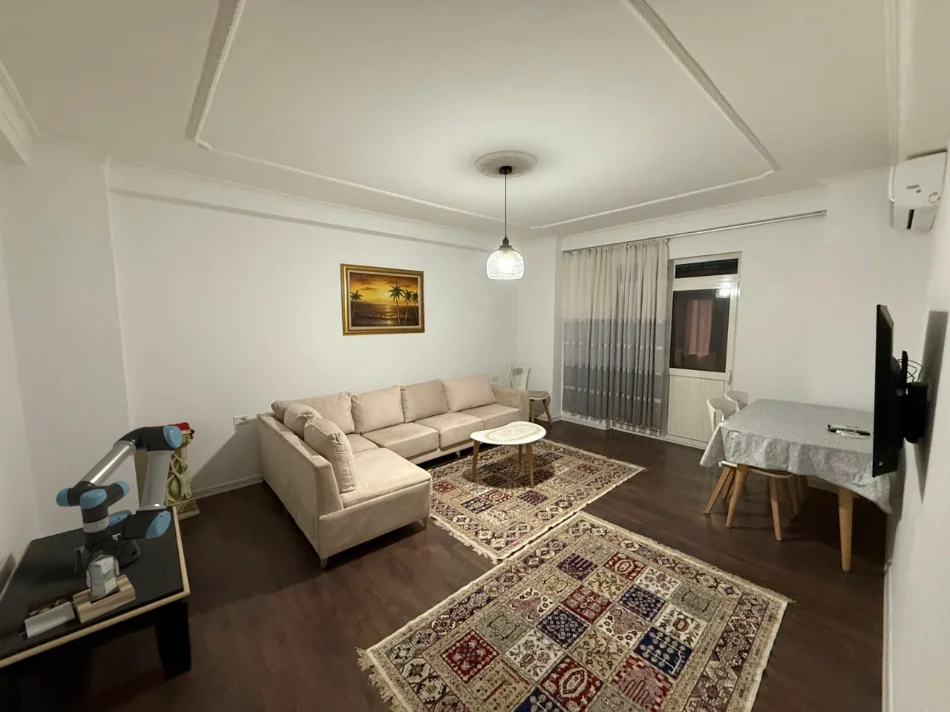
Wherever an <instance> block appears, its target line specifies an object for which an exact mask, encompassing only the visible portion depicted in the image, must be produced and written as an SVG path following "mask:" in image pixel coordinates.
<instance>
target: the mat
mask: <svg viewBox="0 0 950 712" xmlns="http://www.w3.org/2000/svg"><path fill="white" fill-rule="evenodd" d="M73 619H76V615H75V613H74V610H73V608H72V604H71V602H70V601H67V602H65V603H63V604H59V605H57V606H55V607H53V608H51V609H48V610H46V611H44V612H41V613H38V614H37V615H36V614H35V615H34V616H31V617H30V618H27V619H25V620H24V624H25V629H26V635H28V636H27V638H28V639H30V638H32V637H31V636H33V637H35V636H36V635H39V634H41V633H44V632H46V631H48V630H50V629H53V628H54V627H57V626H60V625H62V624H64V623H66V622H68V621H71V620H73ZM34 635H35V636H34ZM29 637H30V638H29Z"/></svg>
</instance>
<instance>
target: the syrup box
mask: <svg viewBox="0 0 950 712" xmlns="http://www.w3.org/2000/svg"><path fill="white" fill-rule="evenodd" d="M87 569H88V570H89V575H90V582H91V587H89V589H90V588H91V595H92V596H104V597H106V596H108V595H109V594H108V593H109V592H110V591H112V590H113V589H114V588H115V587H117V575H116V567H115V559H114V556H111V555H101V556H99V555H98V557H97V558H95V559H93V560H91V561H90V564H89V566H88V568H87ZM107 594H108V595H107ZM105 595H106V596H105Z"/></svg>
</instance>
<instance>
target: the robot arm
mask: <svg viewBox="0 0 950 712" xmlns="http://www.w3.org/2000/svg"><path fill="white" fill-rule="evenodd" d="M182 443H183V433H182V431H181V429H180V428H179V427H178V426H175V425H160V426H159V425H155V426H143V427H138V428H134V429H133V430H131V431H129V432H128V433H126V434H124V435H123V436H122V437H120V438H119V439H118V440H116V441H115V442H114V443H113V445H112V448H111V449H110V450H109V452H107V453H106V454H105V455H104V456H103V457H102V459H100V460H99V461H98V462H97V463H96V464H95V465H94V466H93V467H92V468H91V469H89V471H88V472H86V474H85V475H84V476H83V477H82V478H81V479H80V480H79V481H78V482H77V483H76V484H75V485H74V486H73V487H65V488H63V489H61V490H60V491H59V492H58V493H57V495H56V497H55V502H56V504H57V505H58V506H59V507H61V508H63V507H64V508H66V507H67V508H68V507H69V508H72V507H80V512H81V519H82V529H83V532H84V533H83V536H84V544H83V545H82V546H80V547H76V548H74V552H75V560H74V561H75V562H74V570H73V571H74V573H75V575H79V574H81V579H82V580H83V581H86V585H87V587H88V588H90V587H91V582H90V575H89V570H88V566H89V564H90V562H92V559H93V557H94V555H95V553H97V552H99V551H100V552H99V555H98V557H99V556H101V555H111V556H114V559H115V567H116V576H119V575H120V568H122V567H124V566H127V565H128V564H131V563H133V562H134V561H135V560H137V559H138V558H139V557H140V555H141V550H140V547H139V546H138V544H137V542H136V541H135V540H142V539H143V540H144V539H147V540H149V539H153V538H158V537H161V536H162V535H163V534H165V532H166V531H167V529H168V527H169V526H170V523H171V519H172V515H171V512H170V511H167V506H166V505H165V504H164V503H165V497H166V489H167V481H168V477H169V470H170V463H171V459H172V458H171V457H172V455H173V454H175V453H176V449H178V448H180V447H181V446H182ZM142 450H143V451H144V450H145V451H146V454H147V455H148V456H149V457H148V462H147V468H146V473H145V480H144V484H143V485H144V486H143V492H142V497H141V503H140V507H138V508H137V509H136V511H135V513H133V514H132V510H130V509H123V510H120V511H119V510H118V511H115V512H113V513H110V514H109V508H110V507H112V506H113V505H114V504H116V503H117V502H119V501H120V500H122V499H123V498H124V497H125V496H127V495H128V494H129V492H130V485H129V484H128V483H127V482H125V481H122V480H117V481H115V482H112V483H110V484H108V485H107V484H106V485H104V484H105V482H106V481H107V480H108V479H109V478H111V476H112V475H113V474H114V473H115V471H116V470H117V469H119V468H120V466H121V465H122V464H123V463H124V462H125V461H126V460H127V459H128V458H129V457H130V456H133V455H135V454H136V453H137V452H139V451H142ZM85 550H88V551H87V555H86V557H85V559H84V561H83V564H82V565H81V563H82V556H83V555H82V553H83V552H84V551H85ZM138 556H139V557H138ZM137 557H138V558H137ZM136 558H137V559H136ZM130 562H131V563H130ZM126 564H127V565H126Z"/></svg>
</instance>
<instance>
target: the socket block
mask: <svg viewBox="0 0 950 712" xmlns="http://www.w3.org/2000/svg"><path fill="white" fill-rule="evenodd" d="M116 577H117V576H116ZM115 592H116V593H115ZM112 593H114V594H112ZM110 594H112V595H110ZM108 595H110V596H108ZM106 596H107V597H106ZM104 597H105V598H104ZM72 598H73V599H72V600H73V605H74V607H75V611H76V613H77V616H78V619H79V621H80V624H83V623H86V622H87V621H90V620H92V619H94V618H97V617H99V616H101V615H103V614H105V613H108V612H110V611H113V610H114V609H117V608H119V607H121V606H123V605H125V604H127V603H129V602H131V601H134V600H135V599H136V590H135V588H134V586H133V585H132V584H131V582H130V580H129V578H128V577H127V575H126V574H121V575H120V576H118V577H117V587H115V588H114V589H113V590H112V591H110V592H109V593H108V594H107V595H105V596H92V595H91V588H90V587H89V588H88V589H86V590H83V591H81V592H79V593H76V594H74V595H73V596H72ZM101 598H103V599H101ZM98 599H100V600H98ZM97 600H98V601H97ZM94 601H96V602H94ZM92 602H93V603H92Z"/></svg>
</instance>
